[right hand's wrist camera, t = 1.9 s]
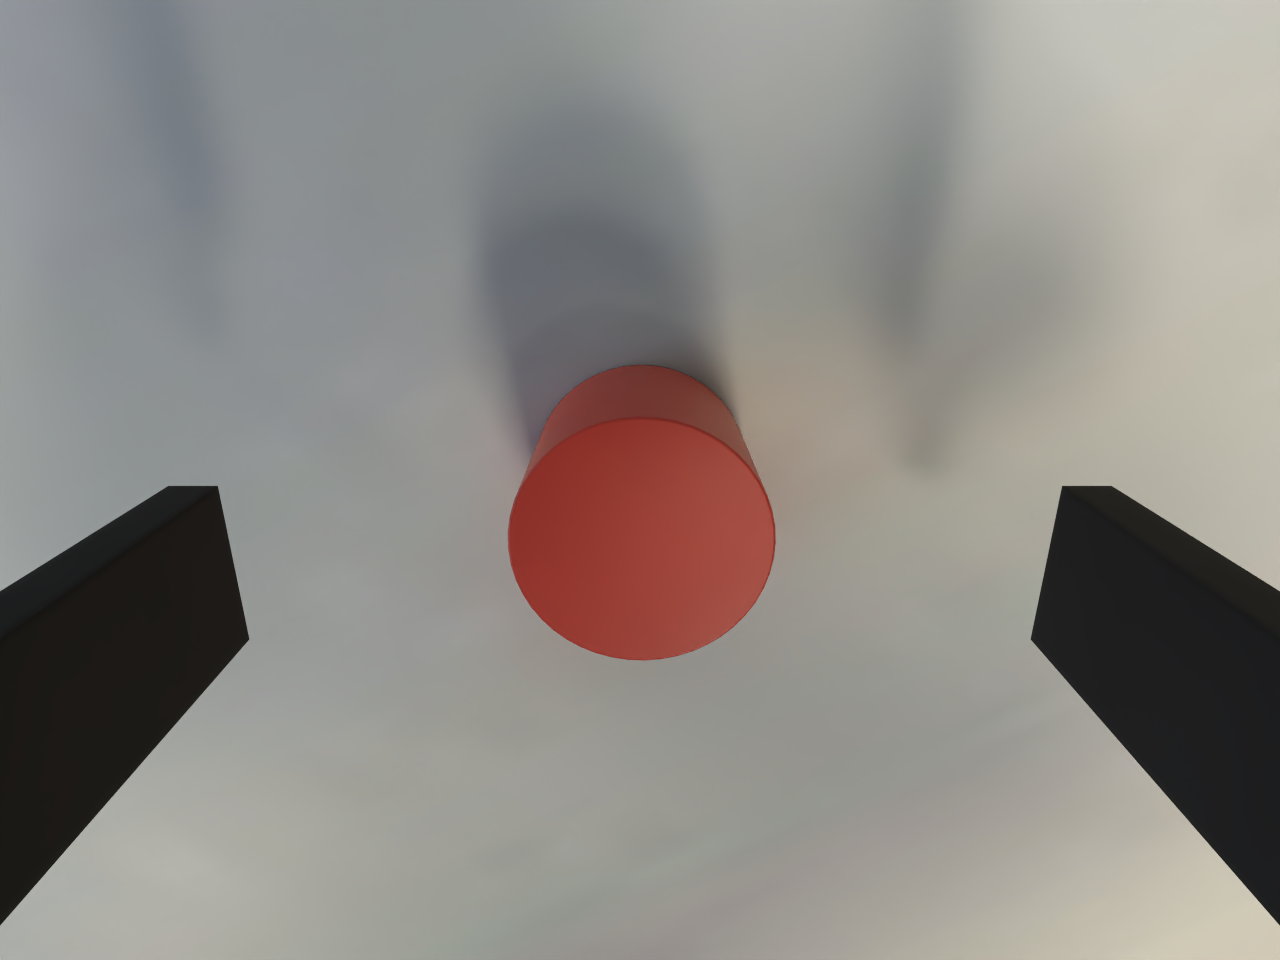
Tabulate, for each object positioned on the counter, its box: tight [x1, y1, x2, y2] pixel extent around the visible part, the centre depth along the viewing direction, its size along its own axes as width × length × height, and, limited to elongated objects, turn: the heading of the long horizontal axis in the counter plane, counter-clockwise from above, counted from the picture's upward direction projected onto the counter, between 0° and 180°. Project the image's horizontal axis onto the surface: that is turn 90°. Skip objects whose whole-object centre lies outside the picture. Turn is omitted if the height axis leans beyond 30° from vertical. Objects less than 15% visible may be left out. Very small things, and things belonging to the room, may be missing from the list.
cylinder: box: [508, 365, 776, 660], centre depth 15 cm, size 5×5×4 cm
